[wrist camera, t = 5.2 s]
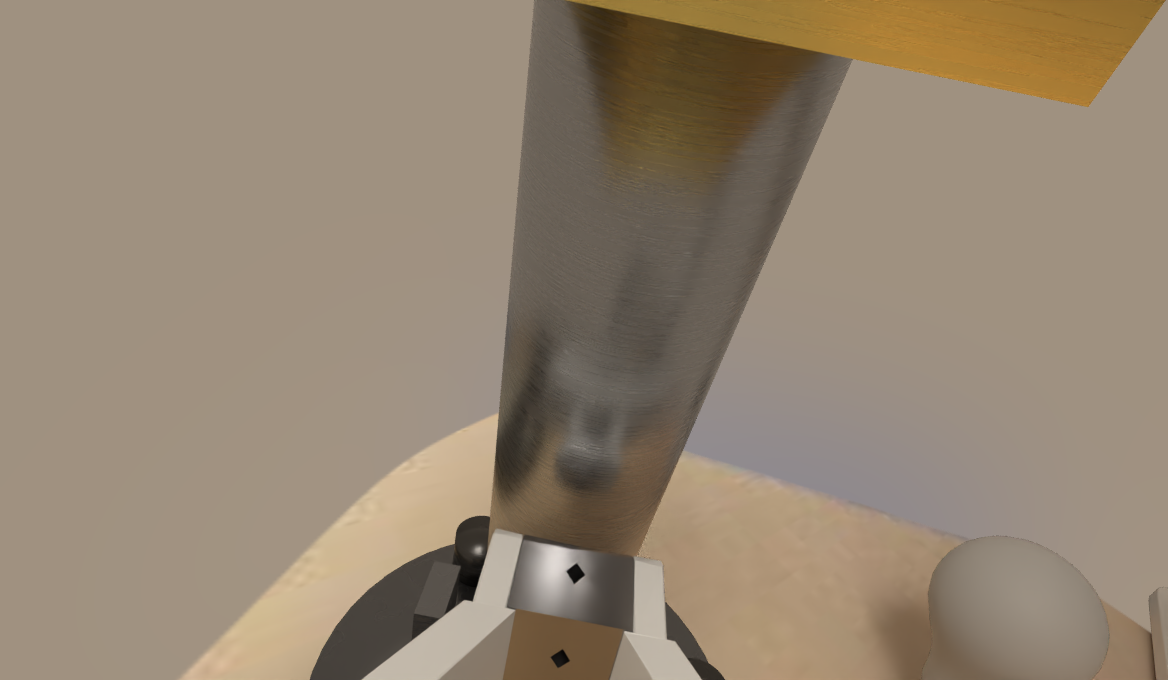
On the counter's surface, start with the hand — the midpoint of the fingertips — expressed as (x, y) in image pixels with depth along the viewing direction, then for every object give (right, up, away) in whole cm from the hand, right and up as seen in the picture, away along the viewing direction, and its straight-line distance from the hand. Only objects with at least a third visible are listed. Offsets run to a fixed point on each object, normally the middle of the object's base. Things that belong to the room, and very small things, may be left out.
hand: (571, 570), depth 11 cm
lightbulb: (+16, -14, +18) cm, 28 cm away
